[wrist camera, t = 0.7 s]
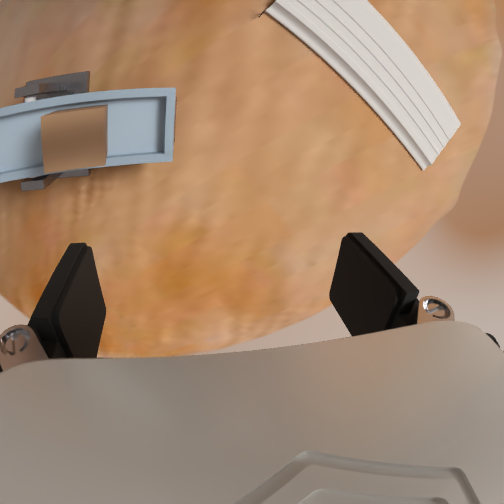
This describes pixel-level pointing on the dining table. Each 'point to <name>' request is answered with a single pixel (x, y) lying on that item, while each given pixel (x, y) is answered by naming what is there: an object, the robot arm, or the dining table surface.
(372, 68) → the baseboard molding
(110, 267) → the dining table surface
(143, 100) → the beam
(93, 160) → the rider
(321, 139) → the dining table surface
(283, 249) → the dining table surface
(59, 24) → the dining table surface
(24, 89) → the stand
